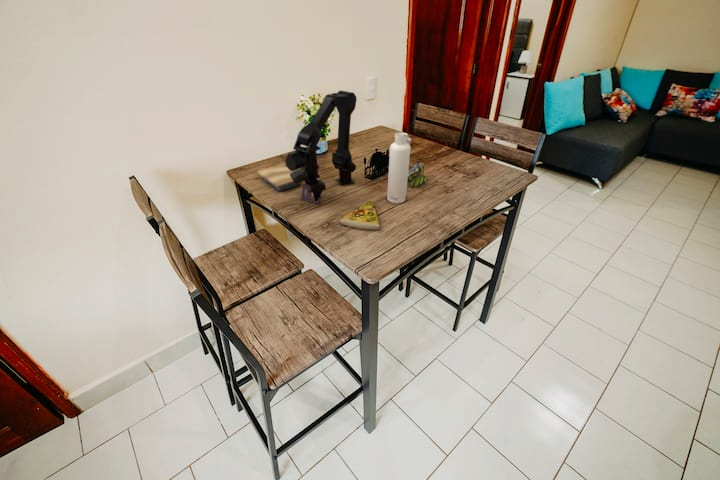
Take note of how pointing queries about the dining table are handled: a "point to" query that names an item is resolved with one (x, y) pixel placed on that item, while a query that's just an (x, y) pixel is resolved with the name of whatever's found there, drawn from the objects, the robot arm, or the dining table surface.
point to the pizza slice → (362, 218)
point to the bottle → (398, 169)
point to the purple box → (307, 194)
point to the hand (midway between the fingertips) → (313, 197)
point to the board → (277, 175)
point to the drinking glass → (408, 140)
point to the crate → (282, 186)
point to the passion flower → (418, 177)
